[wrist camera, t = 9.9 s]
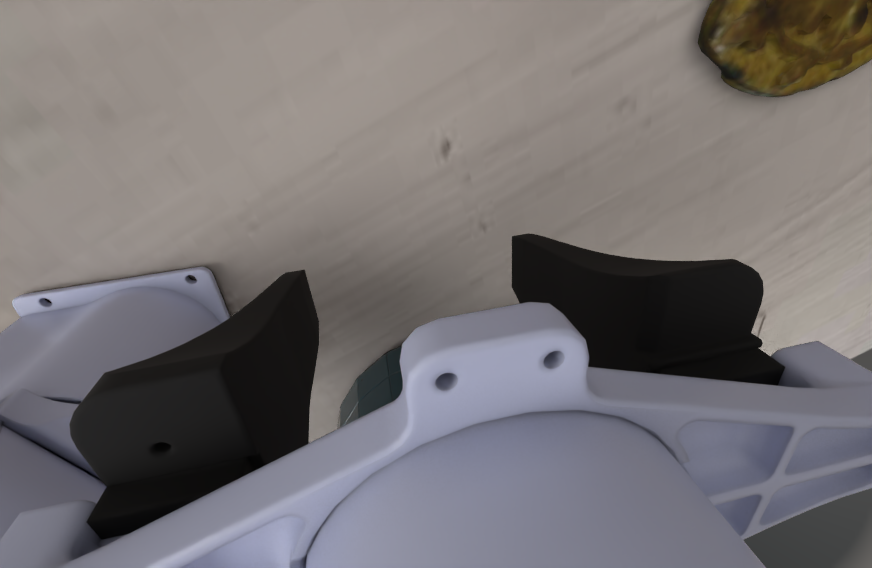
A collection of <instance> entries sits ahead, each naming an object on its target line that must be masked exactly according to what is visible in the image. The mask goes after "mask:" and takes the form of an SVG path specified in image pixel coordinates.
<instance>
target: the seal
mask: <svg viewBox="0 0 872 568" xmlns="http://www.w3.org/2000/svg"><path fill="white" fill-rule="evenodd" d="M698 44H699V47H700V49H701V51H702V52H703V53H704V54H705V55H706V56H707V57H708V58H709V59H710V60H711V61H712V62H713V63H715V64H716V65H717V66H718V67H719V68H720V69H721V71H722V75H721V78H722V79H723V80H724V82H726V83H727V84H729V85H730V86H732V87H733V88H736V89H738V90H740V91H743V92H746V93H750V94H754V95H760V96H766V97H780V96H788V95H793V94H795V93H797V92H800V91H805V90H809V89H814V88H816V87H818V86H820V85H822V84H825V83H827V82H829V81H832V80H835V79H838V78H841V77H843V76H845V75H846V74H848V73H850V72H852V71H854V70H855V69H857V68H859V67H860V66H862V65H864V64H865V63H867V62H868V61H870V60H871V59H872V0H713V1H712V3H711V4H710V6H709V8H708V10H707V12H706V15H705V17H704V20H703V23H702V26H701V31H700V35H699V39H698Z"/></svg>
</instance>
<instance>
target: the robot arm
mask: <svg viewBox="0 0 872 568" xmlns="http://www.w3.org/2000/svg"><path fill="white" fill-rule="evenodd" d="M188 275H193V276H195V278H196V279H197V280H196V281H193V280H191V279H189V277H188ZM512 288H513V290H514V292H515V294H516V296H517V298H518V300H519V302H520V304H516V305H510V306H505V307H499V308H494V309H488V310H483V311H477V312H472V313H466V314H461V315H455V316H450V317H445V318H439V319H436V320H433V321H431V322H429V323H426V324H424V325H421V326H419V327H417V328H416V329H415V330H414V331H413V332H412V333H411V334H410V335H409V337H408V338H407V339H406V340H405V341H404V342H403V344H402V349H401V356H400V367H401V373H402V379H403V389H402V392H401V394H400V395H399V397H398V398H397V399H396V400H395V401H393V402H391V403H389V404H387V405H385V406H383V407H381V408H379V409H377V410H375V411H373V412H371V413H369V414H367V415H365V416H363V417H361V418H359V419H357V420H355V421H353V422H351V423H349V424H347V425H345V426H343V427H341V428H339V429H337V430H335V431H333V432H331V433H329V434H327V435H325V436H323V437H321V438H319V439H317V440H315V441H313V442H311V443H309V444H308V437H309V407H310V397H311V391H312V384H313V378H314V372H315V366H316V360H317V353H318V346H319V320H318V317H317V313H316V309H315V306H314V302H313V299H312V295H311V291H310V288H309V284H308V280H307V277H306V273H305V270H300V271H294V272H287V273H285V274H283V275H282V276H280V277H279V278H278V279H277V280H276V281H275V282H273V283H272V284H271V285H270V286H269V287H268V288H267V289H266V290H264V291H263V292H262V293H261V294H260V295H259V296H258V297H256V298H255V299H254V300H253V301H251V302H250V303H249V304H248V305H246V306H245V307H244V308H243V309H241V310H240V311H239V312H237V313H236V314H235V315H233V316H232V317H230V315H229V313H228V310H227V308H226V305H225V303H224V300H223V298H222V295H221V293H220V290H219V288H218V285H217V283H216V280H215V278H214V275H213V273H212V272H211V270H209V269H208V268H206V267H195V268H189V269H182V270H176V271H169V272H163V273H156V274H150V275H143V276H137V277H131V278H124V279H118V280H111V281H105V282H98V283H92V284H85V285H79V286H73V287H66V288H60V289H53V290H47V291H40V292H34V293H27V294H22V295H19V296H18V297H16V298H15V299H14V300H13V302H12V305H13V307H14V309H15V310H16V312H17V313H18V314H19V316H20V317H21V318H19V319H18V320H17V321H15V322H14V323H13V324H11V325H10V326H9V327H7V328H6V329H5V330H4V331H2V332H1V333H0V568H765V566H764V565H763V564H762V563H761V561H760V560H759V559H758V558H757V557H756V555H755V554H754V553H753V552H752V551H751V549H750V548H749V547H748V546H747V545H746V543H745V542H744V541H743V539H746V538H748V537H750V536H752V535H754V534H756V533H759V532H761V531H763V530H765V529H767V528H769V527H772V526H774V525H776V524H778V523H780V522H782V521H785V520H787V519H789V518H792V517H794V516H796V515H799V514H801V513H803V512H805V511H808V510H810V509H812V508H815V507H817V506H820V505H823V504H825V503H828V502H831V501H833V500H836V499H839V498H842V497H844V496H847V495H851V494H854V493H857V492H860V491H864V490H867V489H870V488H872V372H871V371H869V370H867V369H866V368H864V367H862V366H860V365H859V364H857V363H855V362H853V361H852V360H850V359H848V358H847V357H845V356H843V355H842V354H840V353H838V352H836V351H835V350H833V349H831V348H830V347H828V346H826V345H824V344H823V343H821V342H819V341H814V342H809V343H805V344H800V345H795V346H791V347H786V348H782V349H780V350H777V351H776V352H775V353H774V354H772V355H771V357H770V356H769V355H767V354H766V353H764V352H763V351H761V350H760V349H759V347H761V346H762V340H761V339H759V338H758V337H756V336H755V335H753V334H752V333H751V331H752V328H753V326H754V323H755V320H756V317H757V314H758V311H759V308H760V306H761V302H762V297H763V281H762V279H761V277H760V275H759V273H758V272H756V271H755V270H754V269H753V268H751V267H749V266H747V265H745V264H743V263H741V262H739V261H737V260H734V259H726V260H707V261H659V260H646V259H635V258H627V257H621V256H615V255H609V254H604V253H599V252H595V251H591V250H587V249H583V248H580V247H576V246H573V245H569V244H566V243H563V242H559V241H556V240H553V239H550V238H546V237H543V236H539V235H535V234H523V235H517V236H512ZM45 298H47V299H49V300H50V301H51V302H52V303H49V302H47V301H46V300H45Z"/></svg>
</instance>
